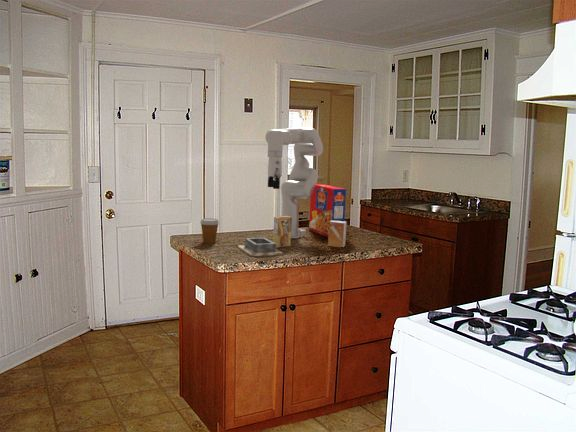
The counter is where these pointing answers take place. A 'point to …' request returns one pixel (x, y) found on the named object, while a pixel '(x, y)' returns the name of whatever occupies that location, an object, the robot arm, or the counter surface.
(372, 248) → the counter surface
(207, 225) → the disposable coffee cup
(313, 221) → the pasta box
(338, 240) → the small box
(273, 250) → the slot stand
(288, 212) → the robot arm
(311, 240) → the counter surface
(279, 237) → the candy box
